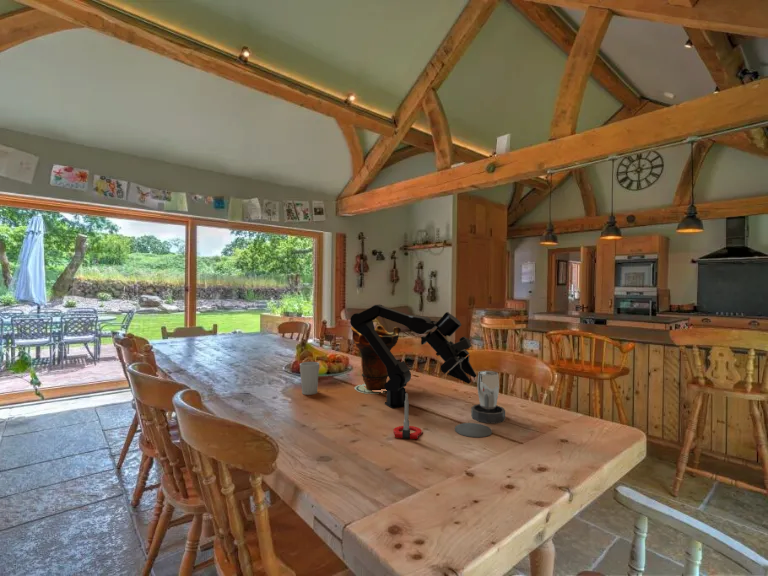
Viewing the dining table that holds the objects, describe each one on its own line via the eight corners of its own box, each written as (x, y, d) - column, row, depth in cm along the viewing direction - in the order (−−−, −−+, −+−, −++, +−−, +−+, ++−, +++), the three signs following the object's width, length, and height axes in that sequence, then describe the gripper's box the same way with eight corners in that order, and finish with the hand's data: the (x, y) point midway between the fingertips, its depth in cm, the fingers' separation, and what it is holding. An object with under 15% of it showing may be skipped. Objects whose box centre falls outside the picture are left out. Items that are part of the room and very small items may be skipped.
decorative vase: (410, 384, 173) (408, 321, 171) (382, 399, 153) (380, 329, 152) (371, 378, 184) (369, 319, 182) (341, 392, 164) (338, 326, 163)
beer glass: (496, 414, 133) (496, 370, 133) (500, 421, 126) (500, 375, 126) (476, 414, 134) (476, 370, 134) (479, 420, 127) (478, 375, 127)
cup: (297, 391, 163) (297, 362, 163) (316, 389, 166) (316, 361, 166) (302, 396, 156) (302, 366, 156) (321, 393, 159) (321, 364, 159)
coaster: (470, 440, 111) (470, 438, 111) (447, 427, 121) (447, 426, 121) (499, 433, 116) (499, 432, 116) (475, 422, 126) (475, 420, 126)
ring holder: (486, 425, 123) (486, 415, 123) (465, 415, 132) (465, 406, 132) (511, 420, 127) (511, 410, 127) (489, 410, 137) (489, 402, 137)
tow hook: (395, 428, 121) (391, 438, 112) (395, 386, 122) (392, 393, 113) (422, 430, 120) (420, 440, 111) (422, 388, 120) (421, 394, 111)
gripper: (449, 332, 126) (484, 369, 121) (463, 327, 143) (494, 359, 138) (426, 355, 129) (460, 392, 124) (442, 347, 146) (472, 379, 141)
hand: (472, 379), depth 132 cm, fingers open, 9 cm apart
